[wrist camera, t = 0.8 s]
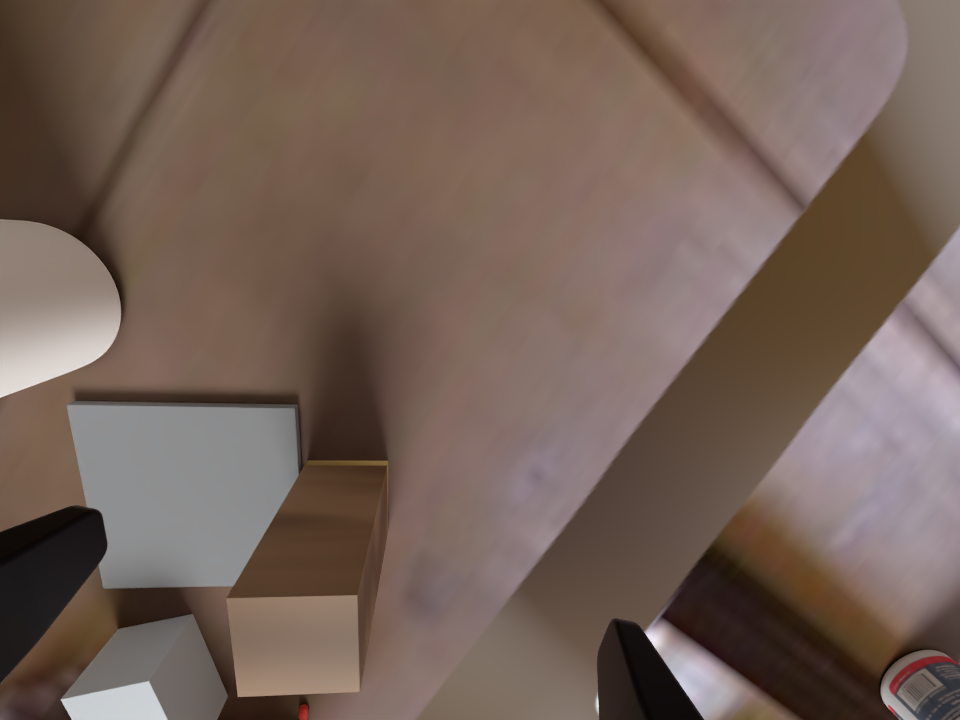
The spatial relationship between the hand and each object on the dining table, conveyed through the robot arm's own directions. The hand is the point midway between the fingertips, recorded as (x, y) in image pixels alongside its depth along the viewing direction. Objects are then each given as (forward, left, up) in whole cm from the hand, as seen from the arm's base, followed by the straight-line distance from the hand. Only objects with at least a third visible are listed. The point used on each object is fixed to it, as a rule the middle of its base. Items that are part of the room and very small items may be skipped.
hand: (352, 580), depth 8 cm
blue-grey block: (-15, +13, -13) cm, 24 cm away
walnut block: (-7, +3, -15) cm, 17 cm away
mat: (-7, +10, -15) cm, 19 cm away
